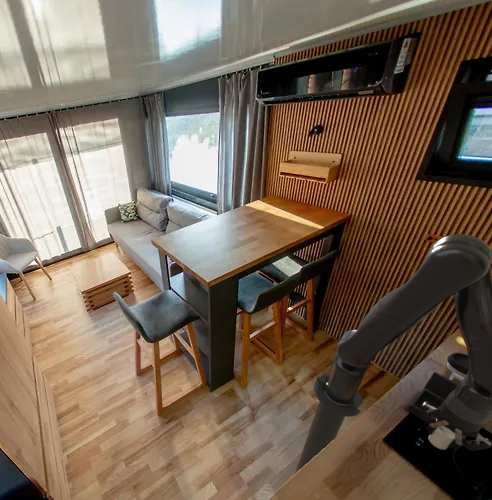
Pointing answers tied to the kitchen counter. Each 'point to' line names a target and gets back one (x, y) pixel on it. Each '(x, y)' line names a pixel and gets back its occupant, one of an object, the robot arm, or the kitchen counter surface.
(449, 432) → the cylinder
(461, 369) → the coffee cup
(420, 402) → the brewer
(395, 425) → the kitchen counter surface
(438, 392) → the lid
